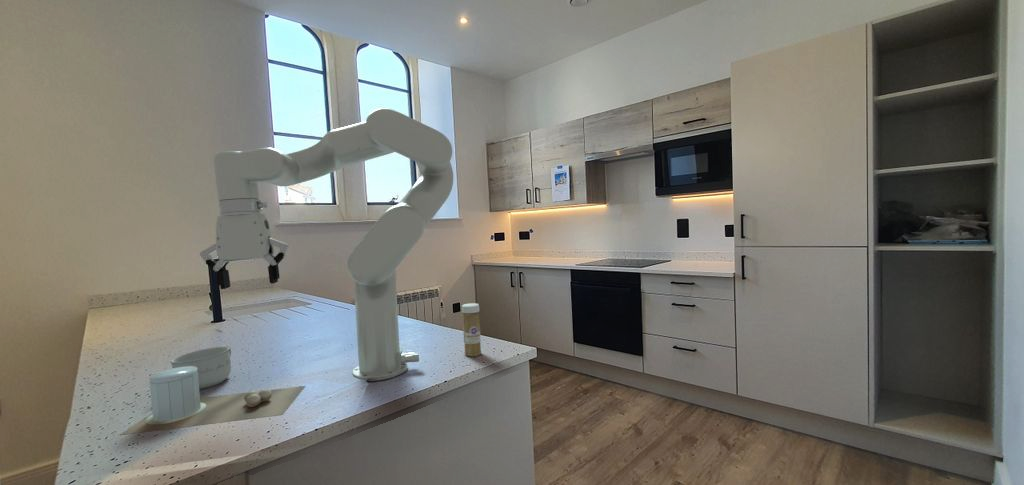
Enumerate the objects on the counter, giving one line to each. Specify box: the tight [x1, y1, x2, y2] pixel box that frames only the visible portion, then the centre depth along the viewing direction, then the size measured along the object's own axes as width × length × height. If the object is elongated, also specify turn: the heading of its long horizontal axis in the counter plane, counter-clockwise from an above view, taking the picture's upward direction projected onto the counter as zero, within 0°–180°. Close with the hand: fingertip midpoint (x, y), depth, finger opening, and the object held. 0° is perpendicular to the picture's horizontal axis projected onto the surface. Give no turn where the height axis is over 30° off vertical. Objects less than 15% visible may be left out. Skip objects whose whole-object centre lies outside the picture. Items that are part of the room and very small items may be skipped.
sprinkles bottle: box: [461, 302, 482, 357], centre depth 107 cm, size 5×5×13 cm
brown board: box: [119, 385, 306, 436], centre depth 79 cm, size 26×14×3 cm, turn 101°
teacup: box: [170, 344, 232, 390], centre depth 95 cm, size 14×11×8 cm
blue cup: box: [149, 366, 201, 422], centre depth 77 cm, size 7×7×8 cm
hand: (250, 285), depth 90 cm, fingers open, 9 cm apart
